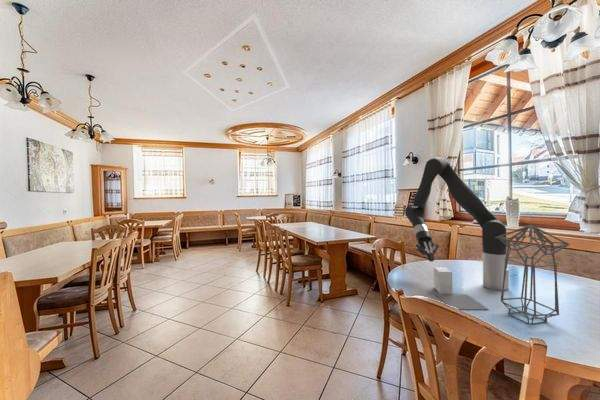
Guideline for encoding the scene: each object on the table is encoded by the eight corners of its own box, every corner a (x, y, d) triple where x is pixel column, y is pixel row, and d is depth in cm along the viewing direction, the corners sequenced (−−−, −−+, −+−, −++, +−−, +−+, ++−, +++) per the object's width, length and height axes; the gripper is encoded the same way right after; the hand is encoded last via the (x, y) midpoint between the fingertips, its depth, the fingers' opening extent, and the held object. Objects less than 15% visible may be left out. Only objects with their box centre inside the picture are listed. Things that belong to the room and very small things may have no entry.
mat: (466, 295, 115) (466, 294, 115) (488, 310, 100) (488, 309, 100) (435, 294, 116) (435, 294, 116) (452, 309, 101) (452, 308, 101)
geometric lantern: (524, 307, 102) (527, 222, 100) (570, 329, 86) (574, 228, 85) (490, 310, 100) (492, 223, 98) (530, 332, 84) (534, 229, 83)
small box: (452, 294, 116) (452, 272, 116) (439, 293, 117) (439, 271, 117) (446, 288, 124) (446, 267, 124) (434, 287, 125) (433, 266, 125)
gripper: (412, 229, 141) (421, 257, 129) (436, 230, 140) (447, 257, 128) (408, 237, 146) (417, 264, 134) (431, 237, 145) (442, 264, 134)
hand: (431, 260), depth 131 cm, fingers closed
